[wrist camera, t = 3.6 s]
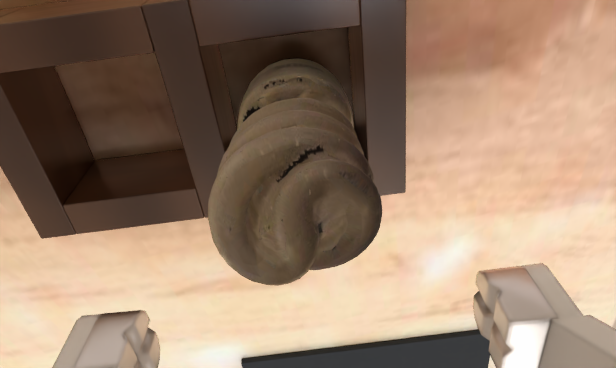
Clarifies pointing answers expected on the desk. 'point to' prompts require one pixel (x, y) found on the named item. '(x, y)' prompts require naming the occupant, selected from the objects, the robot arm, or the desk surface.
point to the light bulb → (293, 179)
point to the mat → (390, 354)
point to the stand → (173, 100)
